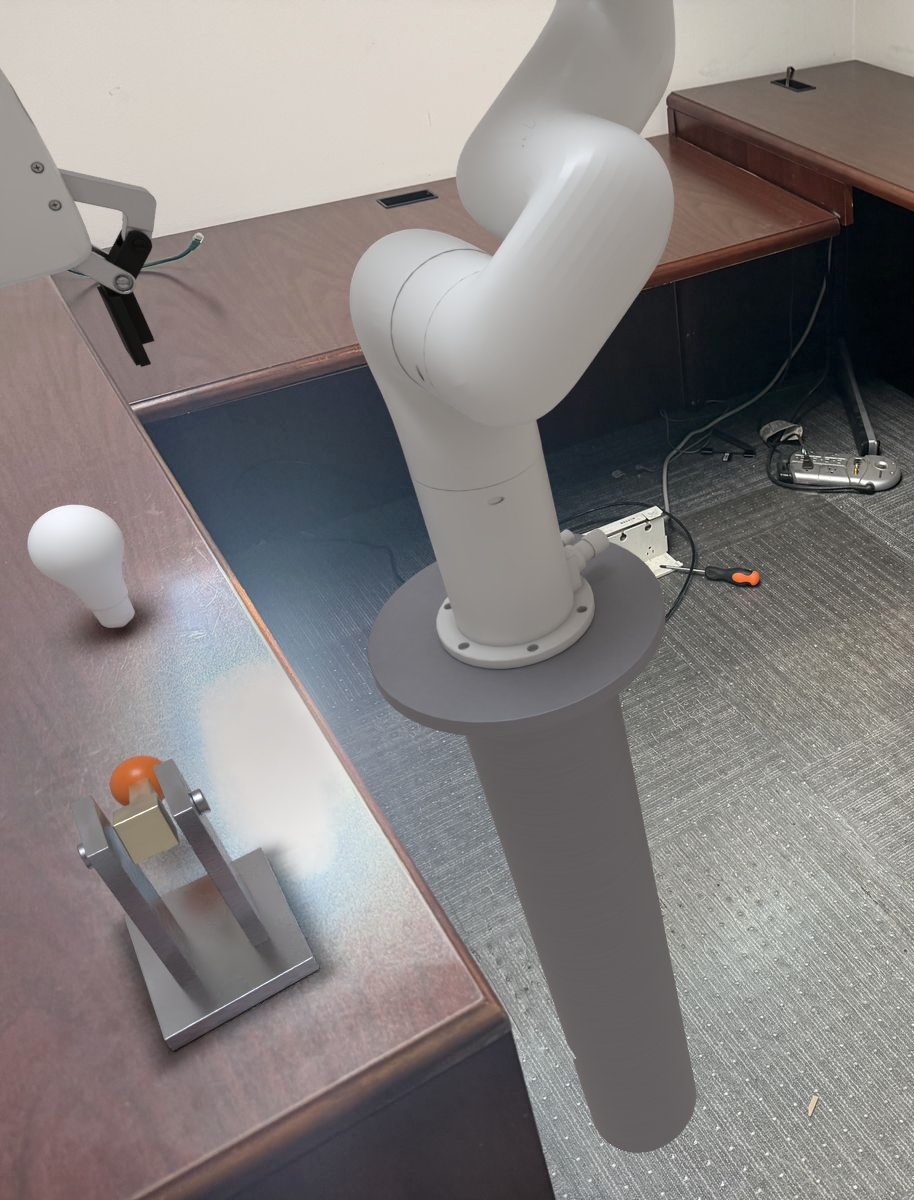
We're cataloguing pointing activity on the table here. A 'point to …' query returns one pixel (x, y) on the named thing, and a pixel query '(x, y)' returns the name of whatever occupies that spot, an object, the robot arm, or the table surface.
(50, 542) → the lightbulb
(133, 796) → the lever
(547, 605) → the robot arm
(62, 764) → the table surface
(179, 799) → the bracket
